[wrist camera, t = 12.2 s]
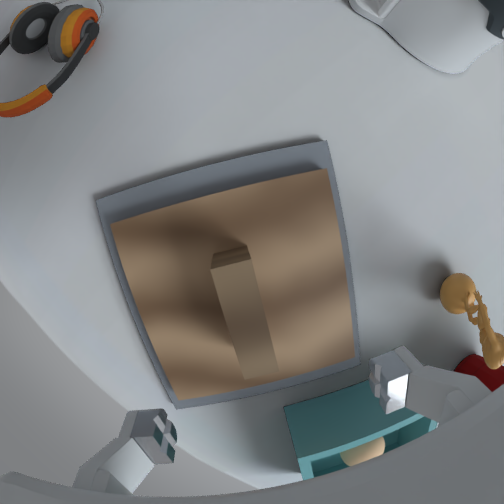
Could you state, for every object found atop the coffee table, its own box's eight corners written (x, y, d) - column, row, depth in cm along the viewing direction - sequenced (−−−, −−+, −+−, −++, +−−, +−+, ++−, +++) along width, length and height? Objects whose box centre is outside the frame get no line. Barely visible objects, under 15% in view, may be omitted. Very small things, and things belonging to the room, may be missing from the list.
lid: (114, 222, 20) (85, 233, 15) (322, 169, 21) (349, 164, 16) (179, 393, 24) (173, 431, 19) (350, 351, 24) (373, 382, 20)
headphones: (205, -48, 14) (36, 128, 12) (201, -10, 19) (68, 154, 18) (74, -56, 11) (-60, 87, 10) (82, -28, 16) (-32, 106, 15)
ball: (333, 427, 26) (347, 460, 21) (375, 412, 26) (394, 441, 21) (335, 451, 27) (347, 481, 22) (374, 437, 27) (389, 465, 23)
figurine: (467, 300, 26) (542, 344, 14) (432, 338, 26) (502, 397, 14) (444, 244, 24) (539, 279, 12) (404, 286, 24) (494, 345, 13)
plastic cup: (436, 417, 30) (478, 470, 18) (430, 372, 27) (488, 432, 16) (489, 373, 29) (536, 413, 18) (490, 321, 27) (552, 362, 15)
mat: (98, 200, 20) (95, 200, 20) (324, 141, 21) (326, 140, 20) (176, 405, 25) (176, 409, 24) (358, 361, 25) (360, 364, 25)
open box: (283, 406, 26) (297, 458, 19) (408, 363, 26) (443, 399, 20) (301, 473, 29) (312, 514, 22) (399, 438, 30) (421, 471, 23)
